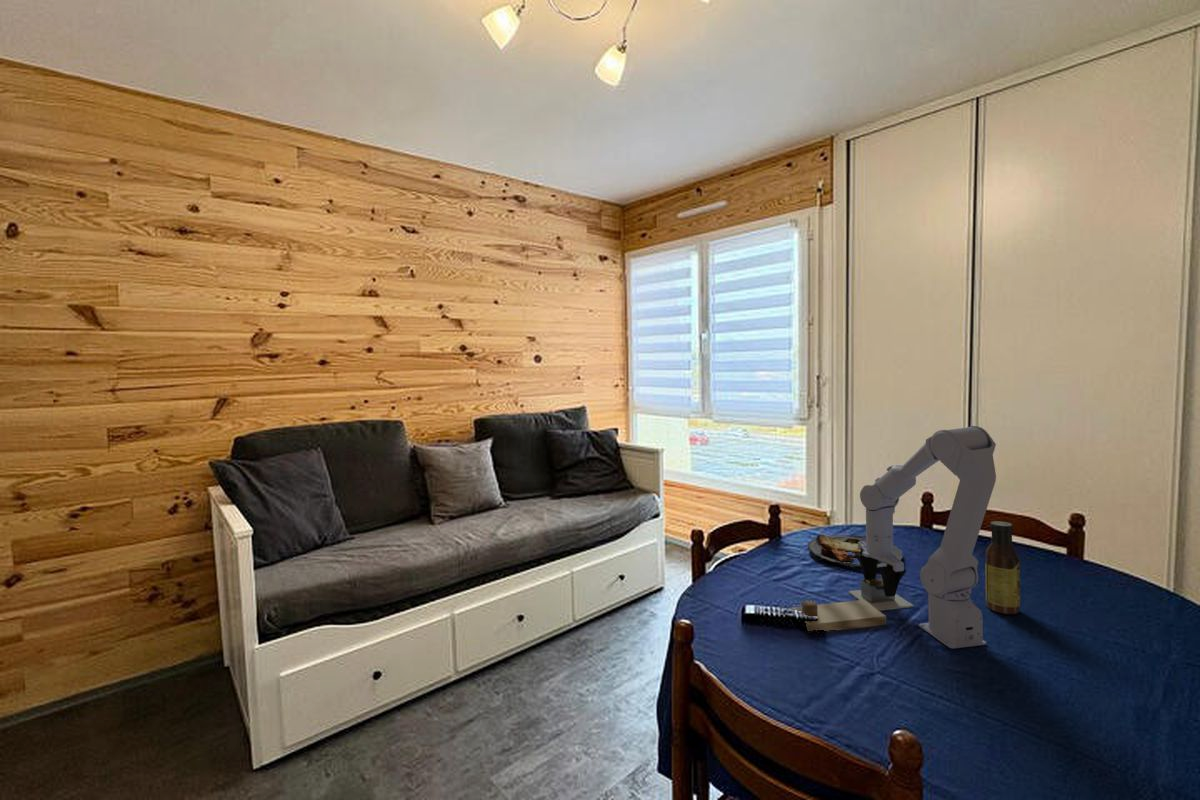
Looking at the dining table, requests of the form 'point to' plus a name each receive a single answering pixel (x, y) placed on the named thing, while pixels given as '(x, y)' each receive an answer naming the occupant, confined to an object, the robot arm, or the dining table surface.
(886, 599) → the grey block
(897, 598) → the rubber mat
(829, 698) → the dining table surface
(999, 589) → the sauce bottle
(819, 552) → the food plate
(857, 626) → the body
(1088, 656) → the dining table surface
